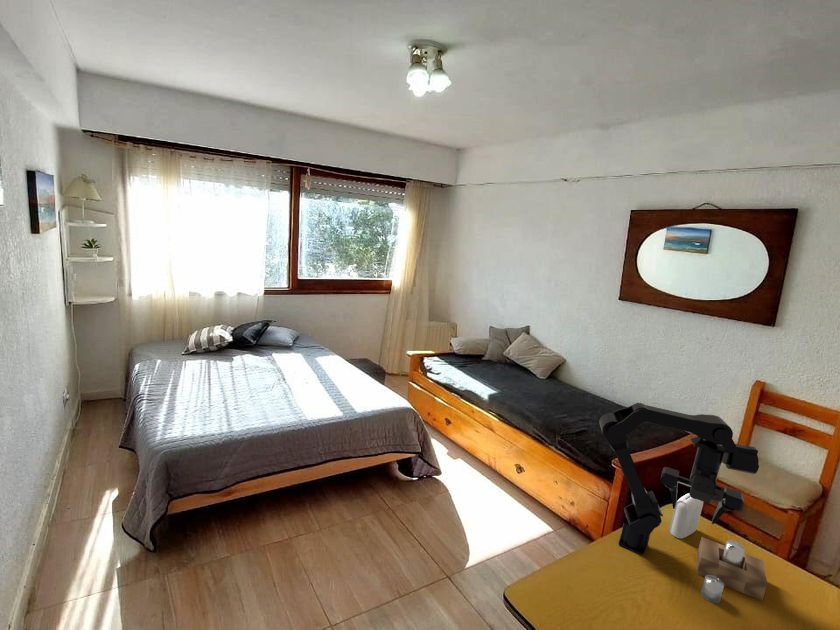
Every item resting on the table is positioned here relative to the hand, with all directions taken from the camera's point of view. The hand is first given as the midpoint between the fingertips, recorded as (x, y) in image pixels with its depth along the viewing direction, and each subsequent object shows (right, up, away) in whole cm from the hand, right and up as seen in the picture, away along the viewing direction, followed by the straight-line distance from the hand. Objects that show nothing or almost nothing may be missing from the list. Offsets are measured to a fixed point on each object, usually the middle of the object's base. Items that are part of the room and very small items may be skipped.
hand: (692, 515), depth 122 cm
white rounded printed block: (+5, -11, +14) cm, 19 cm away
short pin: (-2, -15, -11) cm, 19 cm away
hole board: (+8, -15, -3) cm, 17 cm away
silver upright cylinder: (+7, -15, -3) cm, 17 cm away
